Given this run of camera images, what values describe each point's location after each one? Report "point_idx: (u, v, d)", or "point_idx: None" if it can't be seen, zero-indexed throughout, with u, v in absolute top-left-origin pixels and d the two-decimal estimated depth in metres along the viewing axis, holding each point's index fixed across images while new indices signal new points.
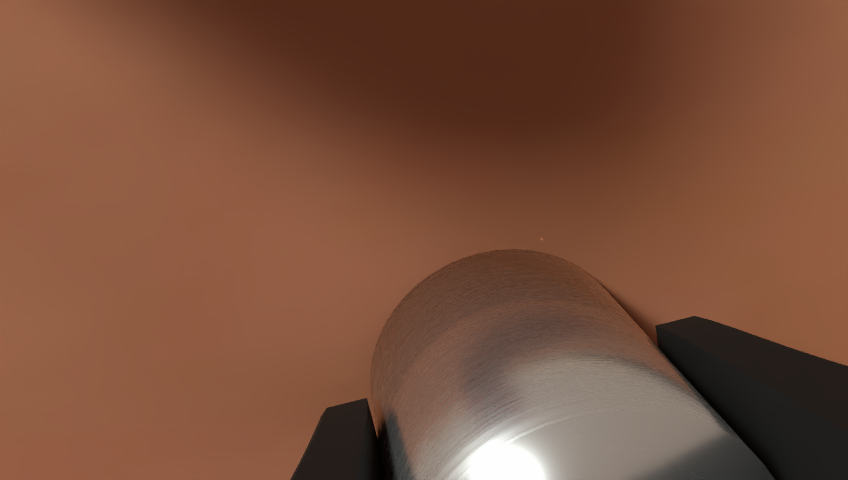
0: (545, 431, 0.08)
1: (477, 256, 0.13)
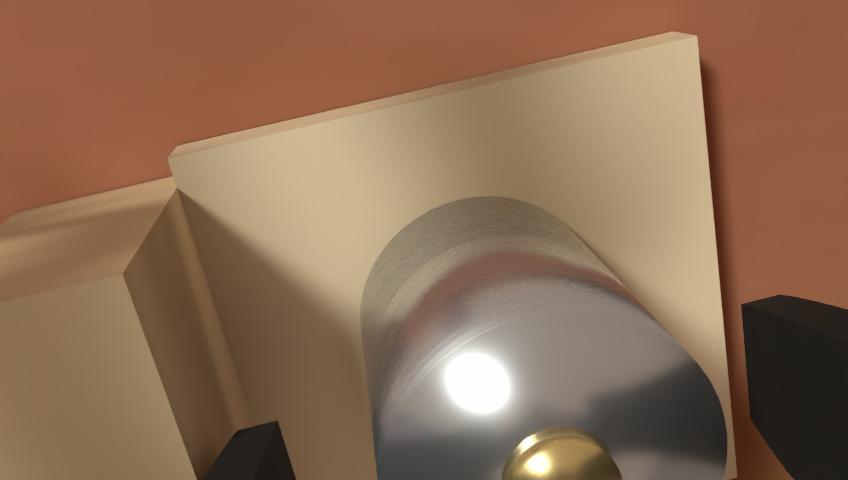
0: (484, 336, 0.09)
1: (443, 206, 0.14)
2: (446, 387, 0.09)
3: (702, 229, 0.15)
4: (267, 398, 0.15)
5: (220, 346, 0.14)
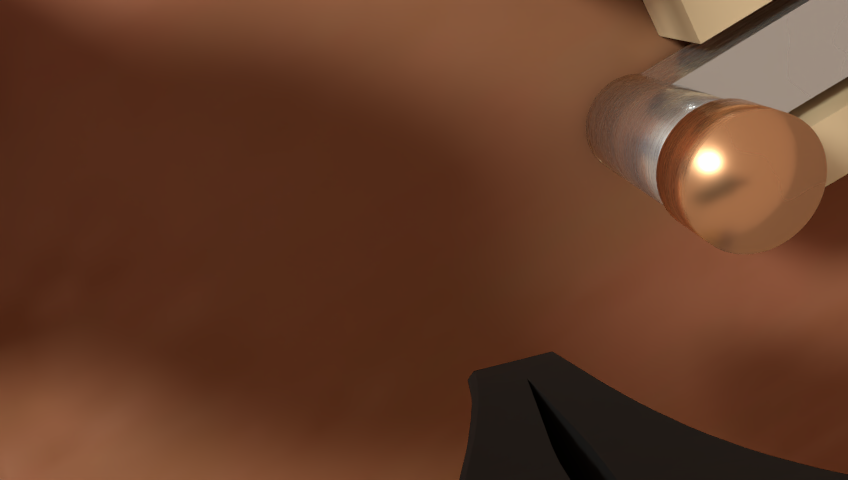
0: None
1: None
2: None
3: None
4: None
5: None
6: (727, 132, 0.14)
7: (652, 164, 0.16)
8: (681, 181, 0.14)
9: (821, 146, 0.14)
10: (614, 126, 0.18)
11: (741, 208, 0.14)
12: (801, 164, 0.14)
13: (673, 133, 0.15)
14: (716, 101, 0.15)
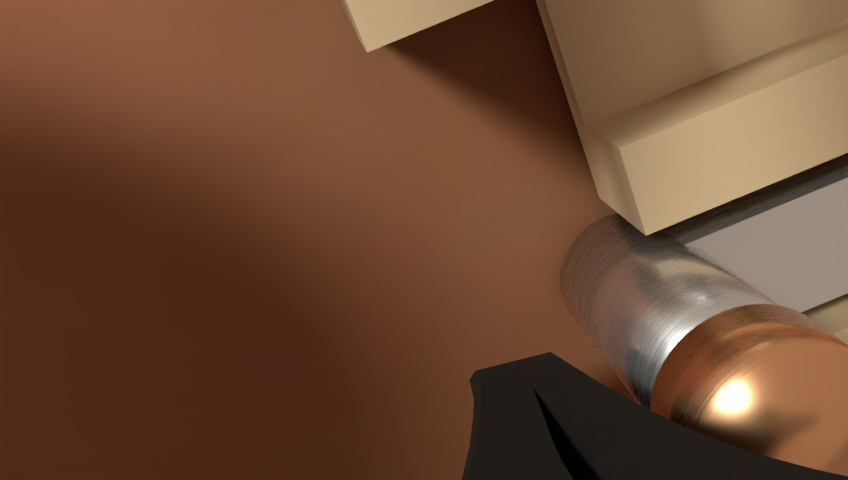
0: None
1: None
2: None
3: None
4: None
5: None
6: (771, 373, 0.09)
7: (647, 372, 0.11)
8: (690, 428, 0.10)
9: None
10: (599, 288, 0.13)
11: None
12: None
13: (686, 343, 0.10)
14: (753, 307, 0.10)
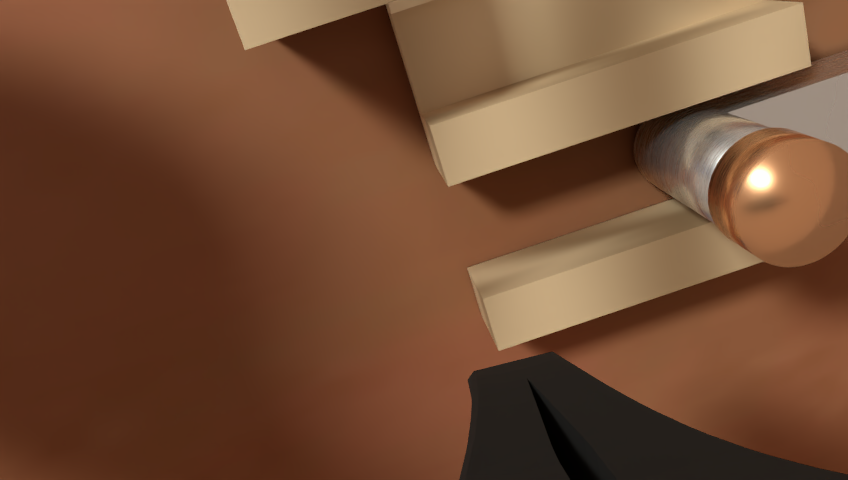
0: None
1: None
2: None
3: None
4: None
5: None
6: (788, 153, 0.16)
7: (706, 173, 0.17)
8: (737, 187, 0.16)
9: None
10: (669, 137, 0.19)
11: (782, 223, 0.16)
12: (841, 197, 0.16)
13: (734, 147, 0.17)
14: (777, 128, 0.17)
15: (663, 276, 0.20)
